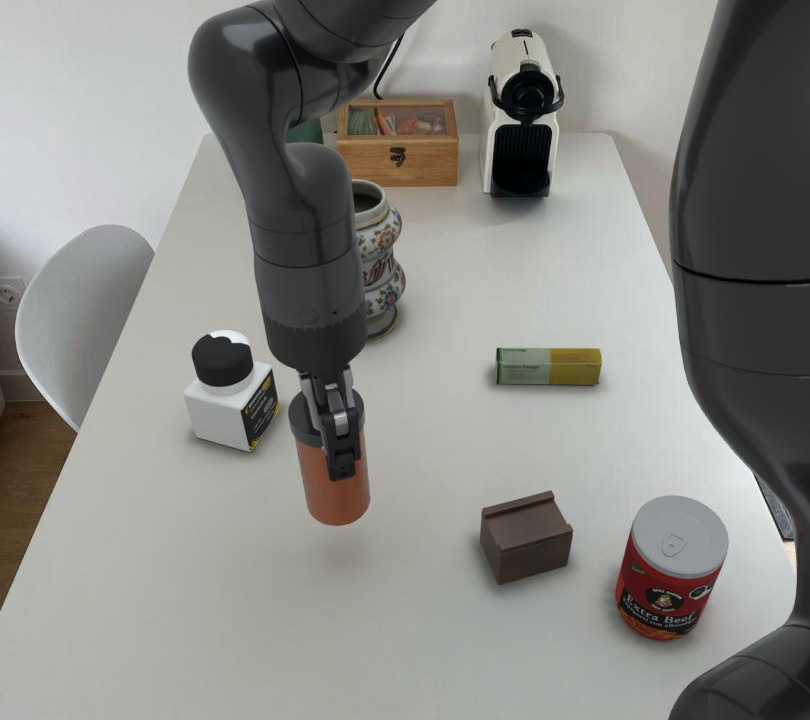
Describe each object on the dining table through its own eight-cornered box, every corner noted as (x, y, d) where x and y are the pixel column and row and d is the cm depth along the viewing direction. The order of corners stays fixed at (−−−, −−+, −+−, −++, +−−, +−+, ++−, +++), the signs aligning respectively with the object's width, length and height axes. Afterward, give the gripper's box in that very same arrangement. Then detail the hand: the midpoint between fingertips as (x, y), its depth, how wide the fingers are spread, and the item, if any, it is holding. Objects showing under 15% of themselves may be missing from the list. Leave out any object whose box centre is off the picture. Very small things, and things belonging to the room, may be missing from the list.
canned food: (605, 628, 72) (624, 557, 65) (622, 556, 77) (641, 483, 70) (694, 656, 70) (724, 587, 62) (705, 580, 75) (734, 508, 68)
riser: (545, 524, 80) (551, 488, 77) (567, 565, 77) (574, 530, 73) (479, 542, 79) (481, 507, 75) (498, 585, 76) (501, 551, 72)
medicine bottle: (251, 454, 88) (232, 374, 80) (194, 438, 90) (170, 358, 82) (281, 409, 93) (266, 330, 85) (226, 395, 95) (207, 316, 87)
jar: (298, 483, 76) (363, 467, 77) (312, 535, 71) (380, 518, 72) (281, 391, 67) (354, 375, 69) (295, 444, 63) (372, 426, 64)
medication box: (494, 386, 95) (495, 363, 92) (494, 368, 97) (495, 345, 94) (598, 386, 94) (603, 363, 91) (596, 368, 96) (600, 345, 93)
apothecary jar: (365, 277, 111) (356, 159, 99) (426, 317, 104) (424, 196, 92) (295, 317, 105) (276, 196, 93) (354, 362, 99) (342, 238, 86)
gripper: (390, 343, 53) (398, 500, 65) (339, 227, 64) (355, 380, 75) (277, 368, 52) (306, 524, 63) (244, 245, 62) (274, 399, 73)
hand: (332, 445), depth 69 cm, fingers closed on jar, 6 cm apart
